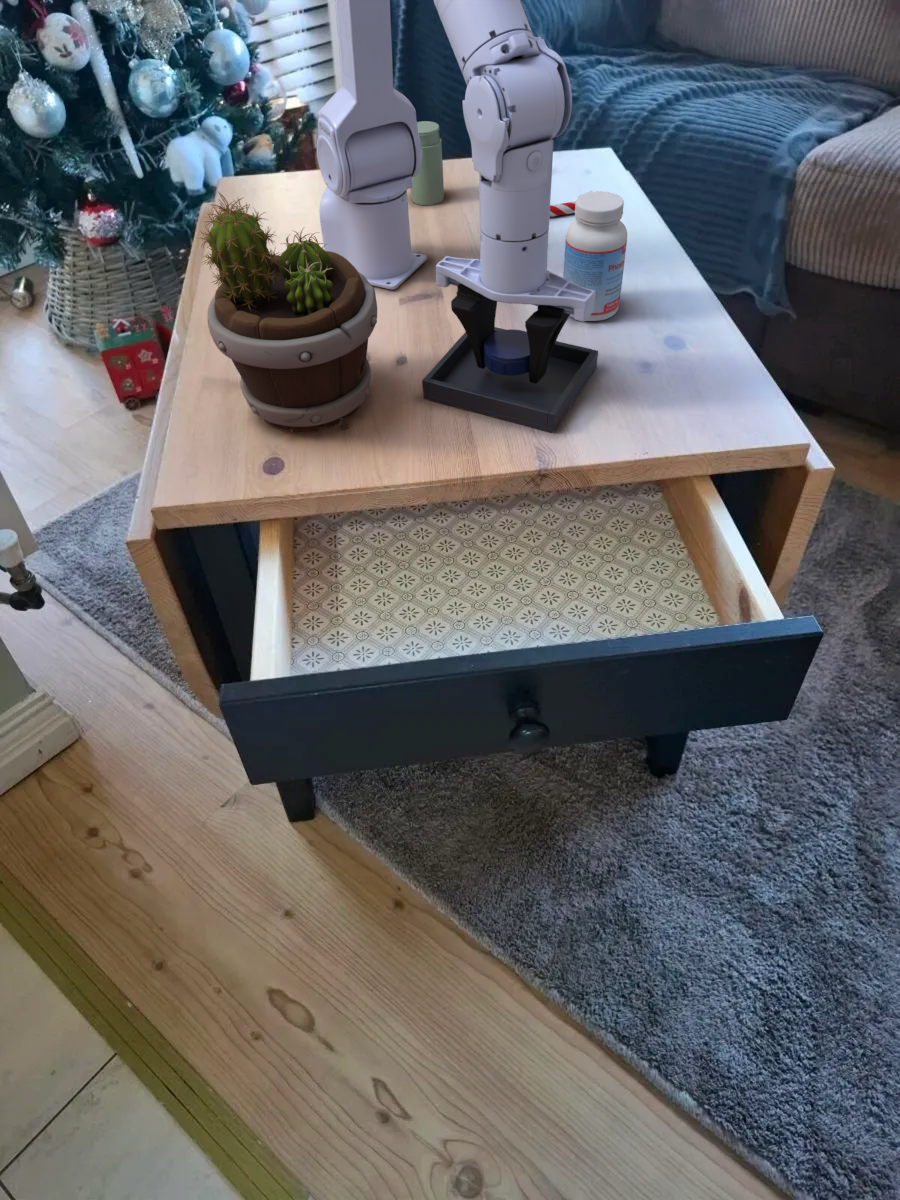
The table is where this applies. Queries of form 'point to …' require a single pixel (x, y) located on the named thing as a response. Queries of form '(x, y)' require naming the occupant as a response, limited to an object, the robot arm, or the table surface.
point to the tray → (511, 385)
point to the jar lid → (507, 352)
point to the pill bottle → (597, 250)
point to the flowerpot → (290, 323)
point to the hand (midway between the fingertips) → (511, 370)
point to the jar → (429, 167)
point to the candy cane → (562, 209)
